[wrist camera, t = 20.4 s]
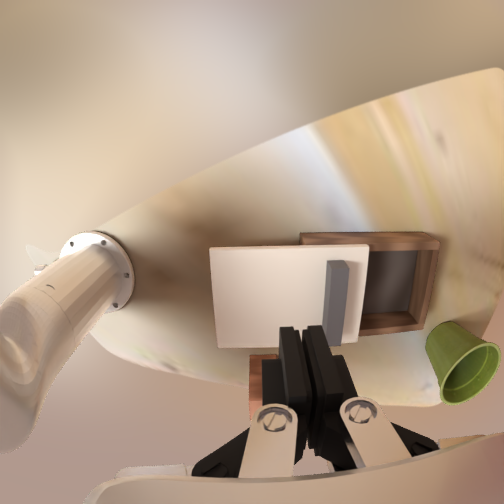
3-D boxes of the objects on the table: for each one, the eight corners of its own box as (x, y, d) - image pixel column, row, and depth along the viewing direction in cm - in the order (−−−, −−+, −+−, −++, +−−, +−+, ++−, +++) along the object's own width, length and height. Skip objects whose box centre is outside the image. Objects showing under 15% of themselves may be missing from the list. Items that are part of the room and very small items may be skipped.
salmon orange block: (250, 374, 48) (249, 420, 39) (249, 355, 47) (248, 400, 38) (275, 373, 48) (279, 419, 39) (276, 354, 47) (280, 399, 37)
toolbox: (297, 320, 45) (301, 340, 40) (300, 232, 41) (305, 244, 36) (409, 312, 45) (423, 329, 40) (422, 231, 40) (440, 242, 36)
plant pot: (477, 313, 45) (512, 346, 34) (447, 367, 49) (474, 404, 38) (432, 302, 44) (468, 339, 33) (401, 362, 48) (426, 405, 37)
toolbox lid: (218, 343, 40) (215, 359, 37) (210, 247, 36) (205, 258, 33) (355, 338, 40) (362, 353, 36) (366, 244, 36) (376, 253, 32)
